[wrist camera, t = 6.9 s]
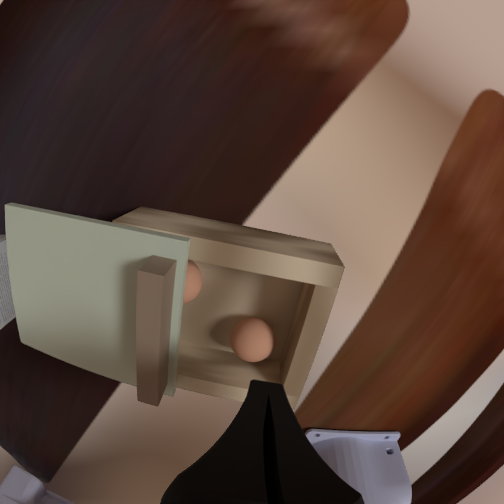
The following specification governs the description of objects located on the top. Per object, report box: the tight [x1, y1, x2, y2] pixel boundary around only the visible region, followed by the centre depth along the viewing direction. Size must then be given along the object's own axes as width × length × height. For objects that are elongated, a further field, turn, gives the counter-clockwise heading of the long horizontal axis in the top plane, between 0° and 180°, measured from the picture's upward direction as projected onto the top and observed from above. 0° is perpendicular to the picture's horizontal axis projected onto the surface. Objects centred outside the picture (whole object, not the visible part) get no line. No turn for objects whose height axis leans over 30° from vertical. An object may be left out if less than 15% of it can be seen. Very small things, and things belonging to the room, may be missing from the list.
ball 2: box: [230, 318, 275, 362], centre depth 19 cm, size 3×3×3 cm
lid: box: [5, 203, 191, 406], centre depth 15 cm, size 12×10×3 cm
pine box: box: [112, 207, 345, 409], centre depth 19 cm, size 12×10×4 cm
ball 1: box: [183, 259, 202, 304], centre depth 18 cm, size 3×3×3 cm
